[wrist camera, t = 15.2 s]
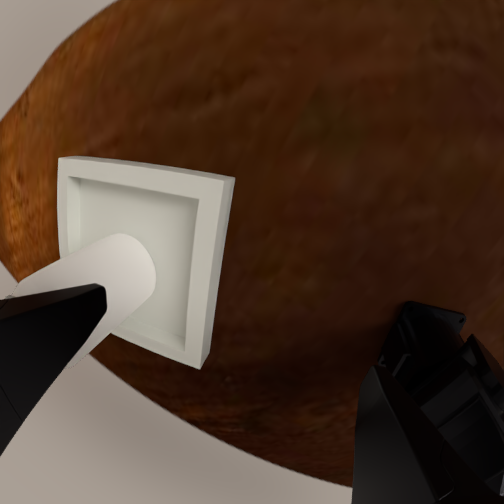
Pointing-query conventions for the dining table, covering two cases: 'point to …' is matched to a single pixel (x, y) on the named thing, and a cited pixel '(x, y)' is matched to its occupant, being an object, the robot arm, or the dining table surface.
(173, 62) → the dining table surface
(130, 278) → the can
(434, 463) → the robot arm
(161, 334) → the tray
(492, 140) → the dining table surface
